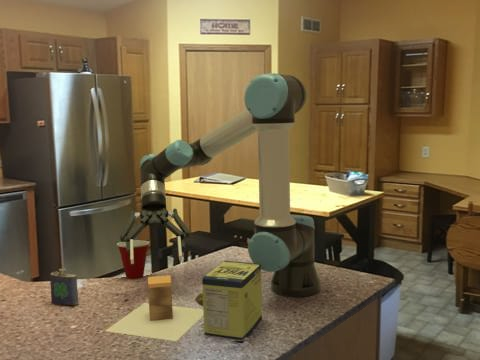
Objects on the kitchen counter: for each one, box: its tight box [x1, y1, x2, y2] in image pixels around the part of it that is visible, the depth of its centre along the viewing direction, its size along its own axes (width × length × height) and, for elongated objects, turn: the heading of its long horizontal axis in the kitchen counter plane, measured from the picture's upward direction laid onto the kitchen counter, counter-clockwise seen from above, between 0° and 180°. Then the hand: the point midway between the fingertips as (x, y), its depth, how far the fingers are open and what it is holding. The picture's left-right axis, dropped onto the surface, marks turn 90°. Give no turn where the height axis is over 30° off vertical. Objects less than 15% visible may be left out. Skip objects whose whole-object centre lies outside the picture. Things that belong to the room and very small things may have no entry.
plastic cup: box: [116, 239, 150, 280], centre depth 178 cm, size 11×11×12 cm
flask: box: [49, 268, 79, 307], centre depth 154 cm, size 9×3×11 cm, turn 68°
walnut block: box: [147, 275, 173, 321], centre depth 141 cm, size 6×6×10 cm
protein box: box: [201, 260, 263, 344], centre depth 134 cm, size 10×16×16 cm
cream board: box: [104, 302, 204, 342], centre depth 139 cm, size 20×20×1 cm
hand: (156, 260), depth 149 cm, fingers open, 13 cm apart
